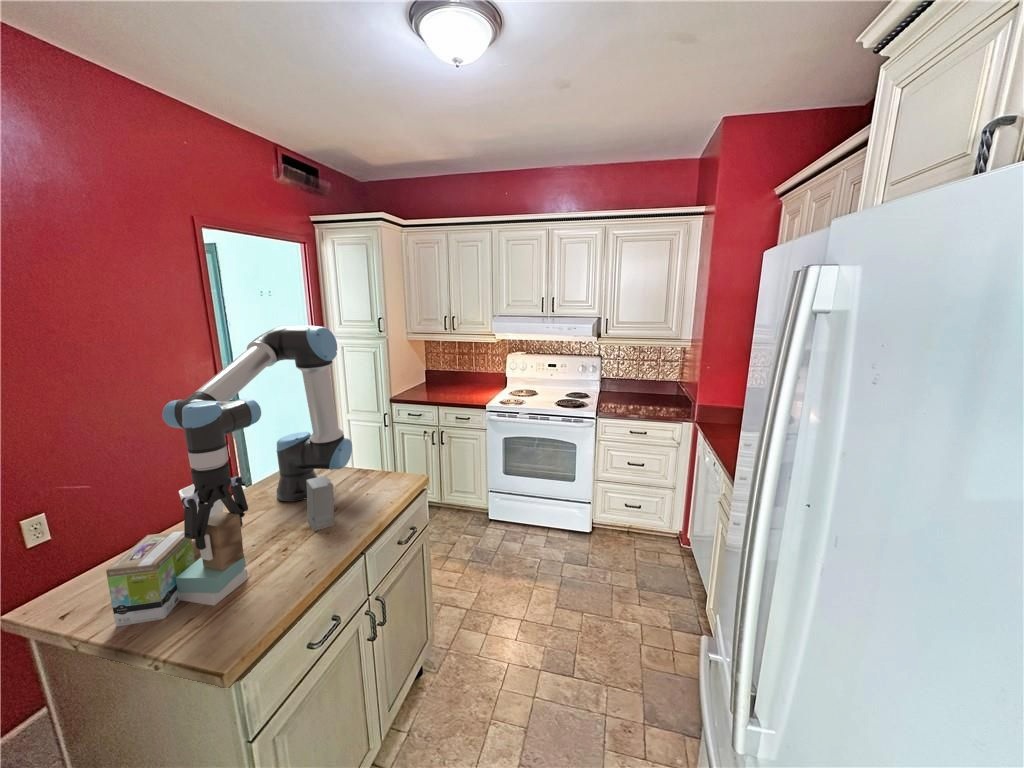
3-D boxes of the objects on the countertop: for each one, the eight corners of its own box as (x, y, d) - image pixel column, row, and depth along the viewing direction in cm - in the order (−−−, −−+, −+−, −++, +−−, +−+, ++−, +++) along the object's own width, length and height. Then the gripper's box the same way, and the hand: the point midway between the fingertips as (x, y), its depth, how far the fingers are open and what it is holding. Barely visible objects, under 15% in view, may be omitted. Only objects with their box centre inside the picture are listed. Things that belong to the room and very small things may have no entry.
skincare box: (307, 523, 134) (302, 479, 131) (329, 516, 139) (325, 474, 136) (314, 534, 128) (310, 488, 125) (337, 526, 132) (333, 482, 129)
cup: (212, 527, 132) (204, 479, 129) (237, 530, 130) (230, 481, 127) (178, 546, 121) (169, 494, 118) (205, 550, 119) (197, 498, 116)
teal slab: (208, 566, 107) (206, 552, 106) (245, 566, 107) (244, 552, 106) (178, 592, 97) (175, 578, 96) (219, 592, 97) (217, 578, 96)
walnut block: (226, 553, 106) (221, 511, 104) (243, 557, 104) (239, 514, 102) (203, 566, 100) (198, 522, 98) (221, 571, 98) (216, 526, 96)
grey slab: (217, 577, 108) (215, 564, 108) (248, 582, 107) (246, 568, 106) (180, 603, 99) (178, 589, 98) (214, 609, 97) (212, 595, 96)
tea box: (166, 620, 93) (156, 563, 90) (114, 628, 90) (102, 570, 88) (199, 578, 107) (191, 528, 104) (155, 584, 105) (145, 533, 102)
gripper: (235, 449, 108) (246, 526, 112) (152, 480, 88) (168, 571, 93) (258, 451, 106) (268, 530, 110) (177, 484, 86) (193, 577, 91)
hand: (222, 549), depth 101 cm, fingers open, 7 cm apart
